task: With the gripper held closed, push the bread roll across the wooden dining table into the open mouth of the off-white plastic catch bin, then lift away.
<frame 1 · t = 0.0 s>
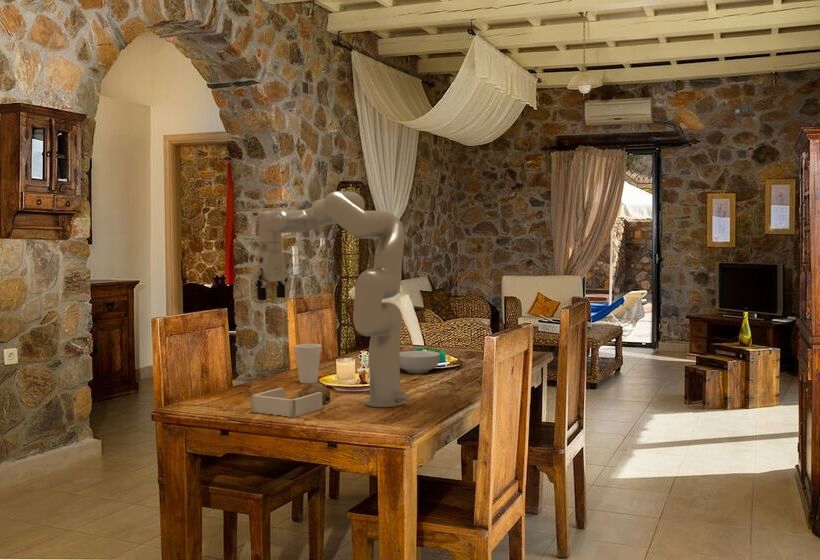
hand: (271, 298, 282), 31 cm above the table, fingers open, 9 cm apart
foam cup: (308, 382, 299), on the table
cereal bowl: (417, 372, 317), on the table
catch bin: (287, 410, 253), on the table
bread roll: (313, 403, 264), on the table
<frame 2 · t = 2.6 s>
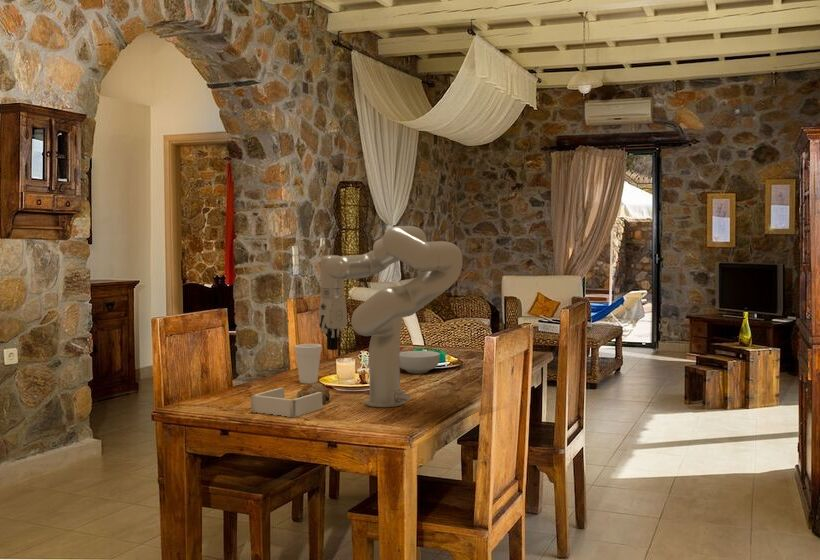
hand: (332, 349, 273), 15 cm above the table, fingers closed
nothing on the table moved.
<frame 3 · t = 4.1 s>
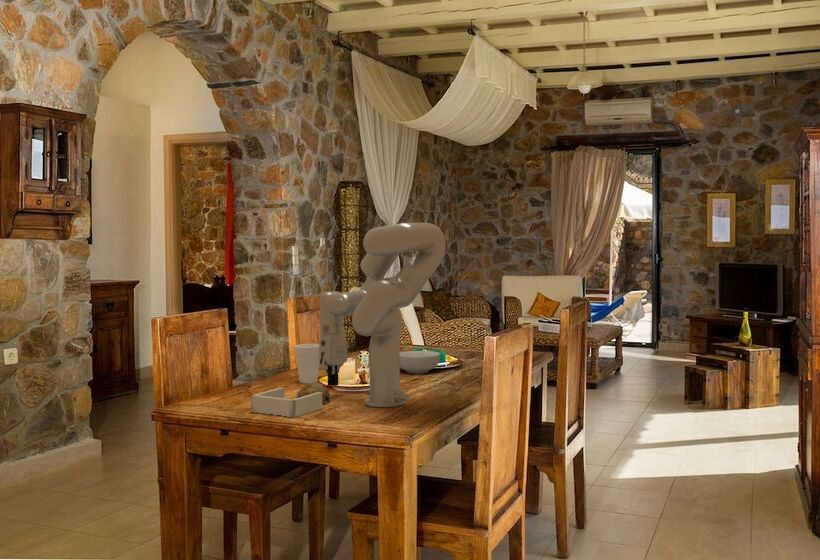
hand: (333, 385, 273), 4 cm above the table, fingers closed
nothing on the table moved.
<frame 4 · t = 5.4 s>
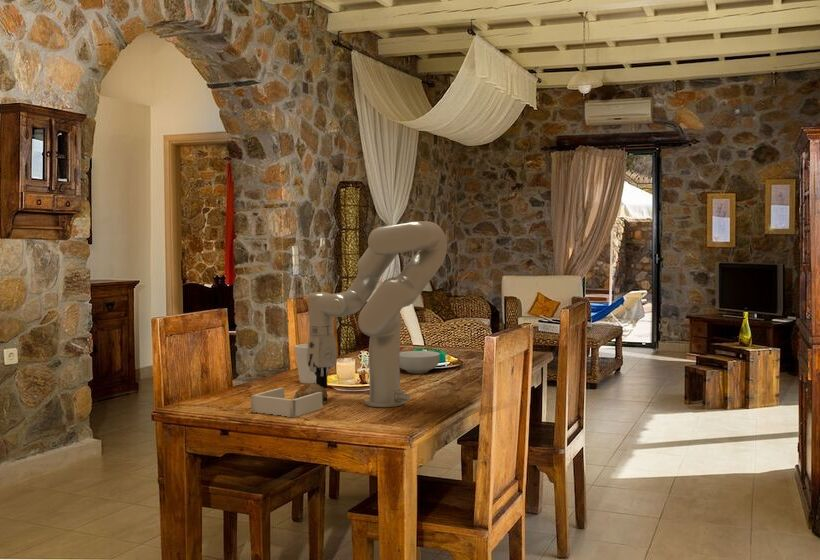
hand: (321, 387, 268), 4 cm above the table, fingers closed
bread roll: (310, 403, 263), on the table, touching gripper
everything else where it was.
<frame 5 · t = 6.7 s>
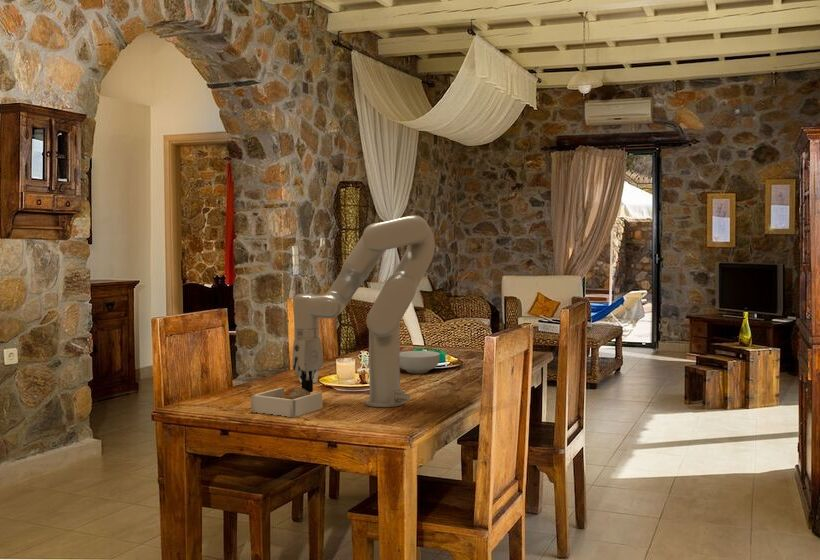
hand: (307, 391, 261), 4 cm above the table, fingers closed
bread roll: (295, 408, 257), on the table
everything else where it was.
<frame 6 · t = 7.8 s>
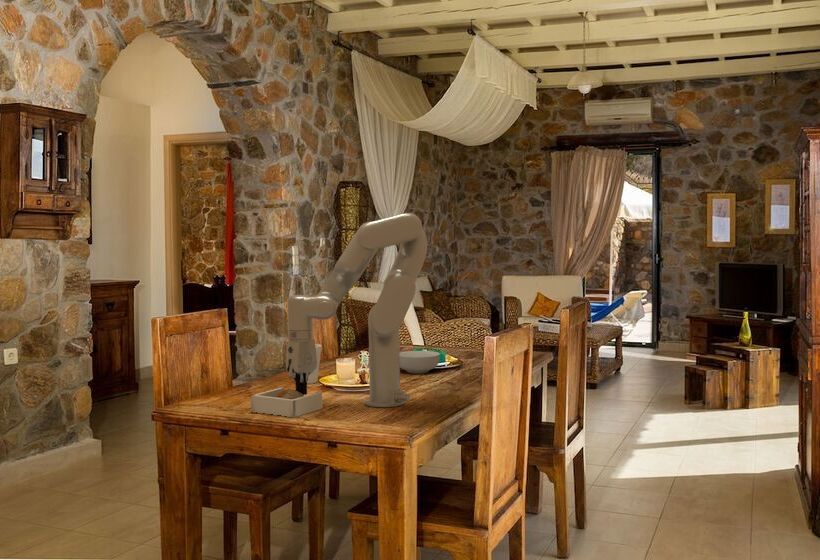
hand: (301, 394, 259), 4 cm above the table, fingers closed
bread roll: (288, 410, 254), on the table
everything else where it was.
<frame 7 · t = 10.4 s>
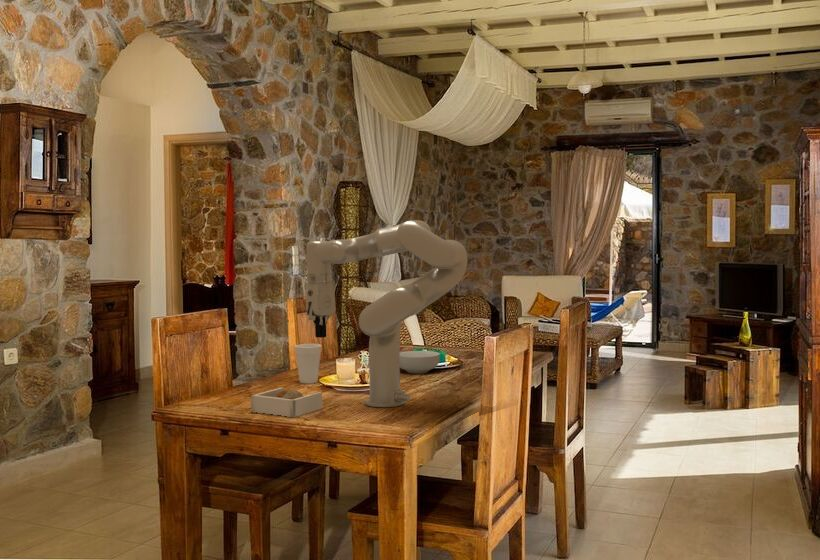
hand: (321, 337, 266), 20 cm above the table, fingers closed
nothing on the table moved.
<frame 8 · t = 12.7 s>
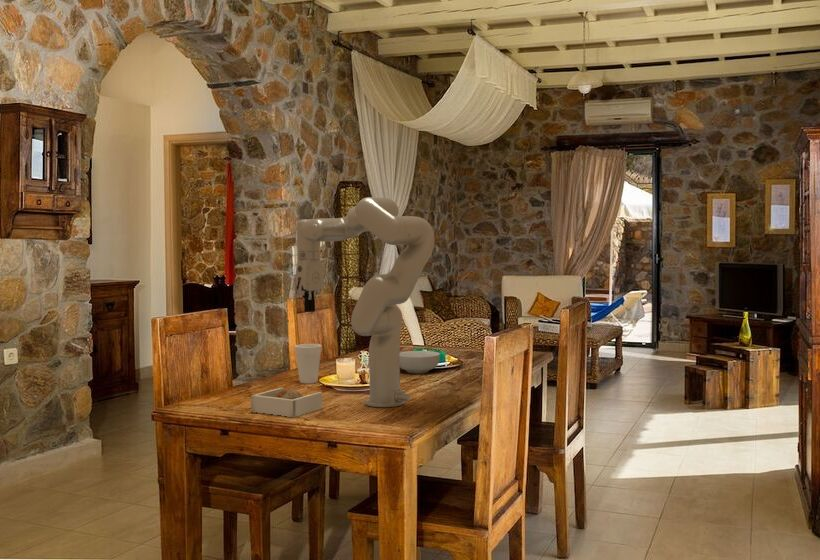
hand: (309, 311, 279), 27 cm above the table, fingers closed
nothing on the table moved.
at the end: bread roll inside the target area on the catch bin (0.9 cm from its centre), point 0.0 cm above the catch bin's base; bread roll moved 11.9 cm from its start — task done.
